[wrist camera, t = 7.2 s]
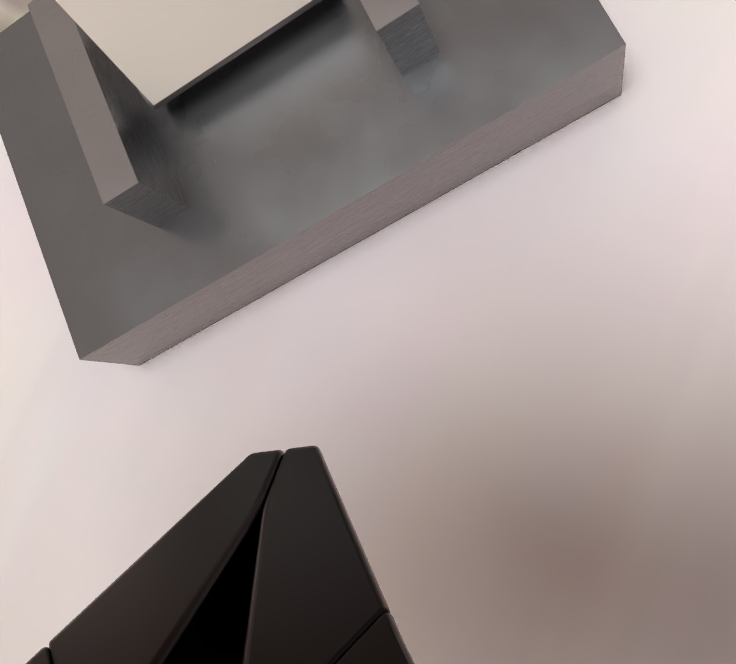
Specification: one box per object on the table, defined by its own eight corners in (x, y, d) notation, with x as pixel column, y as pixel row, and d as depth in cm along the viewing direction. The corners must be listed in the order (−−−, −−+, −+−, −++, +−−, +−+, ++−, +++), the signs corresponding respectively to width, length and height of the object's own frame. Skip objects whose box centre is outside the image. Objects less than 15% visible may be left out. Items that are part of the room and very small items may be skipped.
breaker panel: (621, 94, 21) (630, -12, 15) (138, 365, 25) (17, 353, 20) (445, -197, 23) (403, -370, 18) (36, 90, 27) (-94, 15, 22)
